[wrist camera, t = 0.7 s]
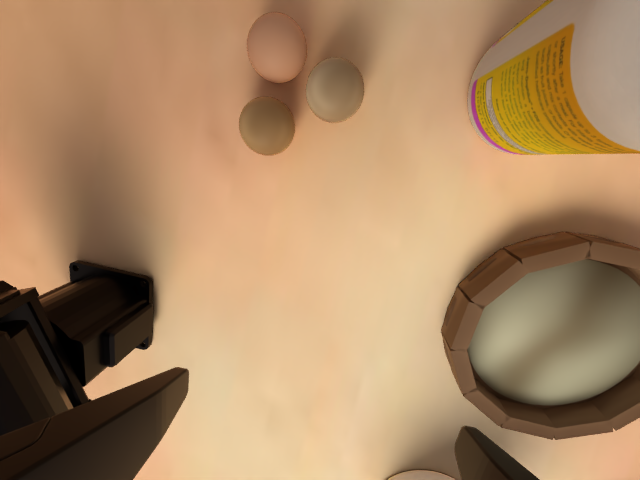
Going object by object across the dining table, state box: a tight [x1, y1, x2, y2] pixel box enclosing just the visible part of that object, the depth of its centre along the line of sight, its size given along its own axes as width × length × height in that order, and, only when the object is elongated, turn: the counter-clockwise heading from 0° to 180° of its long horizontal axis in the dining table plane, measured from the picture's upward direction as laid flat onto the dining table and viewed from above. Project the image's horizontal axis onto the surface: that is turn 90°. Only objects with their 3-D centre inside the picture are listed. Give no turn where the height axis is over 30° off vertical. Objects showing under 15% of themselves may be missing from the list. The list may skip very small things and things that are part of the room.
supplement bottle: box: [467, 0, 640, 155], centre depth 11 cm, size 7×7×13 cm
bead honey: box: [239, 97, 295, 156], centre depth 17 cm, size 3×3×3 cm
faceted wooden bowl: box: [441, 232, 640, 440], centre depth 19 cm, size 14×14×2 cm
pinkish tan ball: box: [247, 12, 307, 83], centre depth 16 cm, size 3×3×3 cm
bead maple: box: [306, 57, 364, 123], centre depth 16 cm, size 3×3×3 cm
